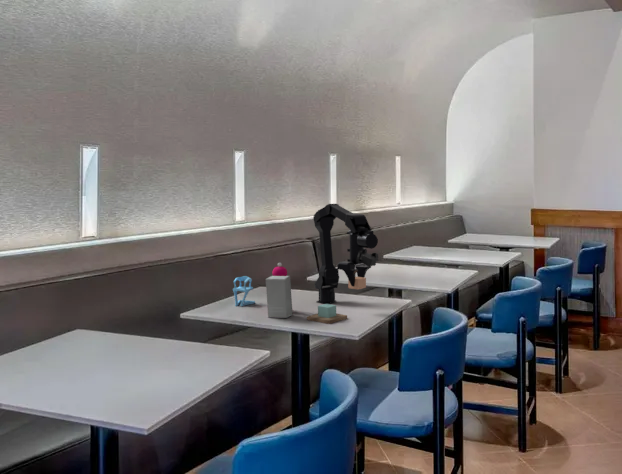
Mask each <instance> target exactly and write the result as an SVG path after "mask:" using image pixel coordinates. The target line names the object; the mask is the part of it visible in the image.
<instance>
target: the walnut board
mask: <svg viewBox="0 0 622 474" xmlns="http://www.w3.org/2000/svg"><path fill="white" fill-rule="evenodd" d="M346 319H348V315H347V314H341V313H337V312H336V316H334V317H330V318H325V317H320V316H318V313H315V314H311V315H307V316H306V320H308V321H313V322H318V323H323V324H327V325H329V324H333V323H337V322H340V321H343V320H346Z"/></svg>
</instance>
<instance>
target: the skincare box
mask: <svg viewBox="0 0 622 474" xmlns="http://www.w3.org/2000/svg"><path fill="white" fill-rule="evenodd" d="M265 289H266V303H267V304H266V305H267V317H268V318H276V319H278V318H279V319H280V318H281V319H288V318H289V317H290V316H292V315H293V301H292V285H291V276H290V275H287V276H273V275H270V276H269V277H267V278H265Z"/></svg>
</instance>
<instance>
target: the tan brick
mask: <svg viewBox="0 0 622 474" xmlns="http://www.w3.org/2000/svg"><path fill="white" fill-rule="evenodd" d="M347 283H348V288H347V289H350V290H351V289H352V290H362V289H366V288H367V278H366V277H358V276H355V285H354V286H352V285H351V283H350V281H349V279H348V278H347Z"/></svg>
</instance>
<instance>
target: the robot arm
mask: <svg viewBox="0 0 622 474" xmlns="http://www.w3.org/2000/svg"><path fill="white" fill-rule="evenodd" d="M312 219H313V222H314V227H315V228H316V230H317V231H318V234H319V246H320V247H319V248H320V257H321V259H320V260H321V266H320V268H319V271H318V277H317V279H316V280H315V283H314V287H315V288H314V289H317V290H318V300H316V303H317V304H318V303H319V304H334V303H336V302H337V301H338V300H336V292H335V289H338V286H339V281H340V275H339V270H341V271H343V272H344V274H345V276H346V278H347V280H348V279H349V281H350V283H351V285H352V286H354V285H355V277H356V276H357V277H364V278H366V274H367V271H369V269H371V268H372V267H373V266H374V267H375V266H376V264H377V262H379V260H380V259H379V253H377V252H372V253H368V250H367V249H370V250H372V249H375V248H376V246H378V242H379V239H378V237H377V235H376V234H374V230H372V227H371V226H370V224H369V222H368V219H367V218H366V215H365V214H361V213H355V212H351V211H349V210H348V209H346V208H344V207H343V206H340V204H338V203H328V204H326V205H325V206H324V207H322V208H320V209H318V210H317V211H315V213H314V214H313V218H312ZM336 219H339V220H341V221H343V223H344V226H346V228H347V229H349V230H348V231H347V232H346V234H347V235H349V248H347V253H348V252H349V258H347V261H346V260H345V261H344V260H343V261H339V262H338V263H337V265H336V266H335V265H334V257H333V245H332V234H331V233H332V232H331V231H332V229H333V227H334V225H335V220H336Z"/></svg>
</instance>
